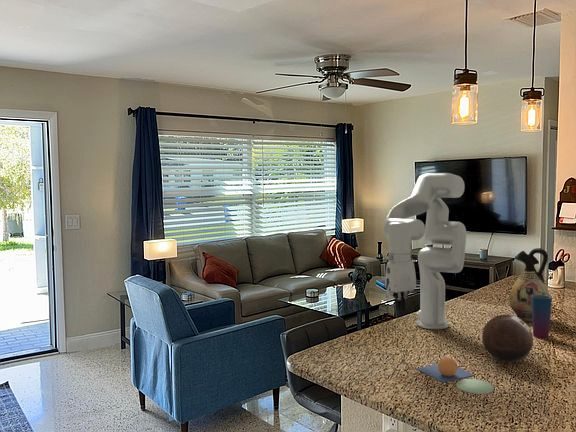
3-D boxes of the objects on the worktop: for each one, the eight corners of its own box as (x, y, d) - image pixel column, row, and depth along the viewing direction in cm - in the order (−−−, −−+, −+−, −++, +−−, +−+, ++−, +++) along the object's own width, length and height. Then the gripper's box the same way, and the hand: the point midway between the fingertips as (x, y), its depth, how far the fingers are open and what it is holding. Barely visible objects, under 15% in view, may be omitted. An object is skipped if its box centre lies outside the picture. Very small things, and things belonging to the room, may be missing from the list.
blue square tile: (416, 369, 158) (416, 368, 158) (446, 362, 163) (446, 362, 163) (443, 383, 147) (443, 382, 147) (474, 375, 152) (474, 374, 152)
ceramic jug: (509, 322, 205) (510, 249, 203) (508, 312, 219) (509, 244, 217) (556, 326, 199) (558, 251, 197) (552, 316, 213) (554, 245, 211)
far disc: (448, 383, 146) (448, 382, 146) (474, 377, 150) (474, 376, 150) (474, 396, 137) (474, 396, 137) (501, 389, 141) (501, 388, 141)
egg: (446, 364, 147) (444, 381, 149) (462, 361, 149) (460, 378, 151) (435, 355, 153) (433, 371, 154) (450, 352, 154) (448, 369, 156)
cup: (553, 339, 183) (554, 299, 182) (533, 338, 184) (534, 298, 183) (547, 334, 190) (548, 294, 188) (528, 333, 191) (529, 294, 190)
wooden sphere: (535, 372, 153) (536, 323, 152) (482, 366, 159) (482, 319, 157) (530, 355, 167) (530, 311, 166) (481, 351, 173) (482, 308, 172)
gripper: (388, 261, 166) (389, 316, 167) (424, 257, 172) (424, 309, 174) (375, 258, 172) (376, 310, 174) (410, 253, 179) (410, 304, 180)
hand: (400, 310), depth 174 cm, fingers closed
